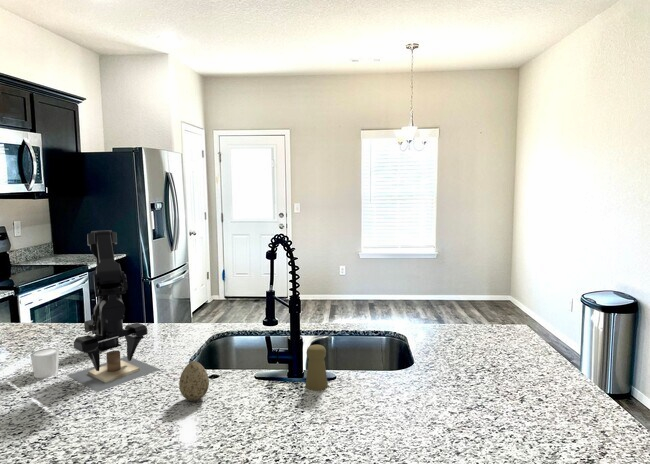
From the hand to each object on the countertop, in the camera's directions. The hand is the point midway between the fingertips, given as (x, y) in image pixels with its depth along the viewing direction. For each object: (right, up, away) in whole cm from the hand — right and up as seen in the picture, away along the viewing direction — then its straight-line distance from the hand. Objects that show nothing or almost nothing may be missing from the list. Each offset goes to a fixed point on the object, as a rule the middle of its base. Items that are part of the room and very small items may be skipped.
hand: (113, 365), depth 125 cm
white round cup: (-19, -3, 0) cm, 19 cm away
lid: (0, -2, 0) cm, 2 cm away
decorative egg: (+28, -4, -16) cm, 32 cm away
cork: (+58, -3, -9) cm, 59 cm away
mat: (0, -3, 0) cm, 3 cm away
